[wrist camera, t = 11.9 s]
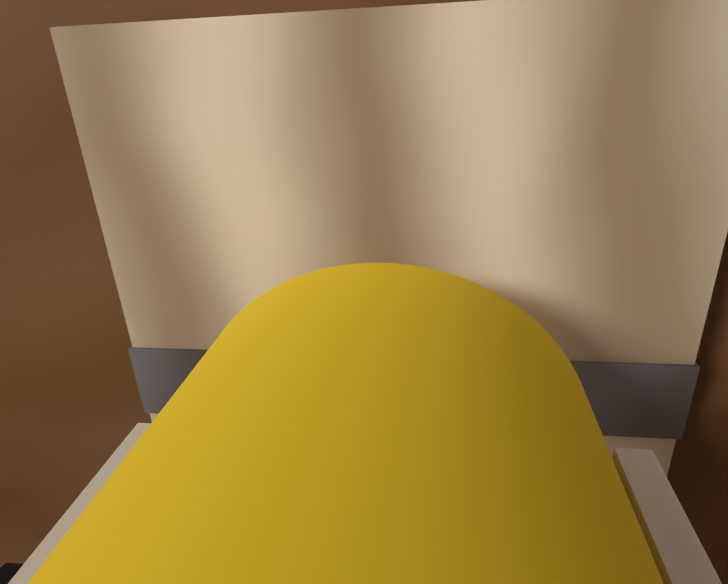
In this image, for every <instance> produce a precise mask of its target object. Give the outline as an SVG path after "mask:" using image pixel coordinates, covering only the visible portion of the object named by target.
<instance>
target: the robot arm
mask: <svg viewBox="0 0 728 584" xmlns="http://www.w3.org/2000/svg"><path fill="white" fill-rule="evenodd" d="M149 426H150V423H138V424H137V425H136V426H135V427H134V428H133V430H132V431H131V432H130V433H129V435H128V436H127V437H126V438H125V440H124V441H123V442H122V443H121V444H120V446H119V447H118V448H117V449H116V451H115V452H114V453H113V454H112V456H111V457H110V458H109V459H108V461H107V462H106V463H105V464H104V465H103V467H102V468H101V469H100V470H99V472H98V473H97V474H96V475H95V477H94V478H93V479H92V480H91V482H90V483H89V484H88V485H87V486H86V488H85V489H84V490H83V491H82V493H81V494H80V495H79V496H78V498H77V499H76V500H75V501H74V503H73V504H72V505H71V506H70V507H69V509H68V510H67V511H66V512H65V514H64V515H63V516H62V517H61V519H60V520H59V521H58V522H57V524H56V525H55V526H54V527H53V528H52V530H51V531H50V532H49V533H48V535H47V536H46V537H45V538H44V540H43V541H42V542H41V543H40V545H39V546H38V547H37V548H36V549H35V551H34V552H33V553H32V554H31V556H30V557H29V558H28V559H27V561H26V562H25V563H24V564H16V563H6V564H4V565H3V566H2V567H0V584H27V583H28V582H29V581H30V579H31V578H32V577H33V575H34V574H35V573H36V572H37V570H38V569H39V568H40V566H41V565H42V564H43V563H44V561H45V560H46V559H47V557H48V556H49V555H50V553H51V552H52V551H53V550H54V548H55V547H56V546H57V544H58V543H59V542H60V541H61V539H62V538H63V537H64V535H65V534H66V533H67V532H68V530H69V529H70V528H71V526H72V525H73V524H74V522H75V521H76V520H77V519H78V517H79V516H80V515H81V513H82V512H83V511H84V510H85V508H86V507H87V506H88V504H89V503H90V502H91V501H92V499H93V498H94V497H95V495H96V494H97V493H98V491H99V490H100V489H101V488H102V486H103V485H104V484H105V482H106V481H107V480H108V479H109V477H110V476H111V475H112V473H113V472H114V471H115V469H116V468H117V467H118V466H119V464H120V463H121V462H122V460H123V459H124V458H125V457H126V455H127V454H128V453H129V451H130V450H131V449H132V448H133V446H134V445H135V444H136V442H137V441H138V440H139V438H140V437H141V436H142V435H143V433H144V432H145V431H146V429H147V428H148V427H149ZM612 459H613V461H614V464H615V466H616V469H617V471H618V474H619V476H620V478H621V481H622V483H623V486H624V488H625V491H626V493H627V495H628V498H629V500H630V503H631V505H632V507H633V510H634V512H635V515H636V517H637V520H638V522H639V524H640V527H641V529H642V532H643V534H644V537H645V539H646V541H647V544H648V546H649V549H650V551H651V554H652V556H653V558H654V561H655V563H656V566H657V568H658V570H659V573H660V575H661V578H662V580H663V583H664V584H722V583H721V581H720V579H719V577H718V575H717V573H716V571H715V569H714V567H713V565H712V563H711V562H710V560H709V558H708V556H707V554H706V552H705V550H704V548H703V546H702V544H701V542H700V540H699V538H698V537H697V535H696V533H695V531H694V529H693V527H692V525H691V523H690V521H689V519H688V517H687V515H686V514H685V512H684V510H683V508H682V506H681V504H680V502H679V500H678V498H677V496H676V494H675V492H674V490H673V489H672V487H671V485H670V483H669V481H668V479H667V477H666V475H665V473H664V471H663V469H662V467H661V466H660V464H659V462H658V460H657V458H656V456H655V454H654V452H653V450H651V449H632V448H614V451H613V456H612Z"/></svg>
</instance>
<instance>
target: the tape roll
mask: <svg viewBox="0 0 728 584" xmlns="http://www.w3.org/2000/svg"><path fill="white" fill-rule="evenodd" d="M27 584H664V583H663V580H662V578H661V575H660V573H659V570H658V568H657V566H656V563H655V561H654V558H653V556H652V554H651V551H650V549H649V546H648V544H647V541H646V539H645V537H644V534H643V532H642V529H641V527H640V524H639V522H638V520H637V517H636V515H635V512H634V510H633V507H632V505H631V503H630V500H629V498H628V495H627V493H626V491H625V488H624V486H623V483H622V481H621V478H620V476H619V474H618V471H617V469H616V466H615V464H614V461H613V459H612V457H611V454H610V452H609V449H608V447H607V444H606V442H605V440H604V437H603V435H602V432H601V430H600V428H599V425H598V423H597V420H596V418H595V415H594V413H593V411H592V408H591V406H590V403H589V401H588V398H587V396H586V394H585V391H584V389H583V386H582V384H581V382H580V379H579V377H578V375H577V373H576V371H575V369H574V367H573V366H572V364H571V362H570V361H569V359H568V358H567V356H566V355H565V353H564V352H563V350H562V349H561V348H560V346H559V345H558V344H557V343H556V341H555V340H554V339H553V338H552V337H551V336H550V335H549V333H548V332H547V331H546V330H545V329H544V328H543V327H542V326H541V325H540V324H538V323H537V322H536V321H535V320H534V319H533V318H532V317H530V316H529V315H528V314H527V313H526V312H524V311H523V310H522V309H520V308H519V307H517V306H516V305H515V304H513V303H512V302H510V301H509V300H507V299H505V298H504V297H502V296H500V295H499V294H497V293H495V292H493V291H491V290H489V289H487V288H485V287H483V286H481V285H479V284H477V283H474V282H472V281H469V280H467V279H464V278H462V277H459V276H456V275H453V274H450V273H446V272H443V271H439V270H435V269H430V268H426V267H420V266H414V265H407V264H397V263H357V264H347V265H340V266H334V267H329V268H325V269H320V270H317V271H313V272H310V273H307V274H304V275H301V276H298V277H295V278H293V279H291V280H288V281H286V282H284V283H282V284H280V285H278V286H276V287H274V288H272V289H270V290H269V291H267V292H265V293H264V294H262V295H261V296H259V297H258V298H256V299H255V300H254V301H252V302H251V303H250V304H248V305H247V306H246V307H245V308H244V309H242V310H241V311H240V312H239V313H238V314H237V315H236V316H235V317H234V318H233V319H232V320H231V321H230V323H229V324H228V325H227V326H226V327H225V329H224V330H223V331H222V333H221V334H220V335H219V336H218V338H217V339H216V340H215V342H214V343H213V344H212V345H211V347H210V348H209V349H208V351H207V352H206V353H205V354H204V356H203V357H202V358H201V360H200V361H199V362H198V364H197V365H196V366H195V367H194V369H193V370H192V371H191V373H190V374H189V375H188V376H187V378H186V379H185V380H184V382H183V383H182V384H181V385H180V387H179V388H178V389H177V391H176V392H175V393H174V395H173V396H172V397H171V398H170V400H169V401H168V402H167V404H166V405H165V406H164V407H163V409H162V410H161V411H160V413H159V414H158V415H157V417H156V418H155V419H154V420H153V422H152V423H151V424H150V426H149V427H148V428H147V429H146V431H145V432H144V433H143V435H142V436H141V437H140V438H139V440H138V441H137V442H136V444H135V445H134V446H133V448H132V449H131V450H130V451H129V453H128V454H127V455H126V457H125V458H124V459H123V460H122V462H121V463H120V464H119V466H118V467H117V468H116V469H115V471H114V472H113V473H112V475H111V476H110V477H109V479H108V480H107V481H106V482H105V484H104V485H103V486H102V488H101V489H100V490H99V491H98V493H97V494H96V495H95V497H94V498H93V499H92V501H91V502H90V503H89V504H88V506H87V507H86V508H85V510H84V511H83V512H82V513H81V515H80V516H79V517H78V519H77V520H76V521H75V522H74V524H73V525H72V526H71V528H70V529H69V530H68V532H67V533H66V534H65V535H64V537H63V538H62V539H61V541H60V542H59V543H58V544H57V546H56V547H55V548H54V550H53V551H52V552H51V553H50V555H49V556H48V557H47V559H46V560H45V561H44V563H43V564H42V565H41V566H40V568H39V569H38V570H37V572H36V573H35V574H34V575H33V577H32V578H31V579H30V581H29V582H28V583H27Z"/></svg>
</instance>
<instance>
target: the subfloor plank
mask: <svg viewBox="0 0 728 584" xmlns="http://www.w3.org/2000/svg"><path fill="white" fill-rule="evenodd" d="M50 31H51V35H52V38H53V42H54V46H55V50H56V54H57V58H58V62H59V65H60V69H61V73H62V77H63V81H64V85H65V89H66V92H67V96H68V100H69V104H70V108H71V112H72V116H73V119H74V123H75V127H76V131H77V135H78V139H79V143H80V146H81V150H82V154H83V158H84V162H85V166H86V170H87V173H88V177H89V181H90V185H91V189H92V193H93V196H94V200H95V204H96V208H97V212H98V216H99V220H100V223H101V227H102V231H103V235H104V239H105V243H106V247H107V250H108V254H109V258H110V262H111V266H112V270H113V274H114V277H115V281H116V285H117V289H118V293H119V297H120V301H121V304H122V308H123V312H124V316H125V320H126V324H127V328H128V331H129V335H130V339H131V343H132V345H131V346H130V347H129V348H128V351H129V355H130V359H131V363H132V366H133V370H134V374H135V378H136V382H137V385H138V389H139V393H140V397H141V400H142V404H143V408H144V412H145V413H150V416H151V420H152V422H153V420H154V419H155V418H156V417H157V415H158V414H159V413H160V411H161V410H162V409H163V407H164V406H165V405H166V404H167V402H168V401H169V400H170V398H171V397H172V396H173V395H174V393H175V392H176V391H177V389H178V388H179V387H180V385H181V384H182V383H183V382H184V380H185V379H186V378H187V376H188V375H189V374H190V373H191V371H192V370H193V369H194V367H195V366H196V365H197V364H198V362H199V361H200V360H201V358H202V357H203V356H204V354H205V353H206V352H207V351H208V349H209V348H210V347H211V345H212V344H213V343H214V342H215V340H216V339H217V338H218V336H219V335H220V334H221V333H222V331H223V330H224V329H225V327H226V326H227V325H228V324H229V323H230V321H231V320H232V319H233V318H234V317H235V316H236V315H237V314H238V313H239V312H240V311H241V310H242V309H244V308H245V307H246V306H247V305H248V304H250V303H251V302H252V301H254V300H255V299H256V298H258V297H259V296H261V295H262V294H264V293H265V292H267V291H269V290H270V289H272V288H274V287H276V286H278V285H280V284H282V283H284V282H286V281H288V280H291V279H293V278H295V277H298V276H301V275H304V274H307V273H310V272H313V271H317V270H320V269H325V268H329V267H334V266H340V265H347V264H357V263H397V264H407V265H414V266H420V267H426V268H430V269H435V270H439V271H443V272H446V273H450V274H453V275H456V276H459V277H462V278H464V279H467V280H469V281H472V282H474V283H477V284H479V285H481V286H483V287H485V288H487V289H489V290H491V291H493V292H495V293H497V294H499V295H500V296H502V297H504V298H505V299H507V300H509V301H510V302H512V303H513V304H515V305H516V306H517V307H519V308H520V309H522V310H523V311H524V312H526V313H527V314H528V315H529V316H530V317H532V318H533V319H534V320H535V321H536V322H537V323H538V324H540V325H541V326H542V327H543V328H544V329H545V330H546V331H547V332H548V333H549V335H550V336H551V337H552V338H553V339H554V340H555V341H556V343H557V344H558V345H559V346H560V348H561V349H562V350H563V352H564V353H565V355H566V356H567V358H568V359H569V361H570V362H571V364H572V366H573V367H574V369H575V371H576V373H577V375H578V377H579V379H580V382H581V384H582V386H583V389H584V391H585V394H586V396H587V398H588V401H589V403H590V406H591V408H592V411H593V413H594V415H595V418H596V420H597V423H598V425H599V428H600V430H601V432H602V435H603V437H604V440H605V442H606V444H607V447H608V449H609V452H610V454H611V457H612V456H613V451H614V448H632V449H651V450H653V452H654V454H655V456H656V458H657V460H658V462H659V464H660V466H661V467H662V469H663V471H664V473H665V475H666V477H667V474H668V470H669V466H670V462H671V458H672V454H673V450H674V446H675V442H676V439H681V440H682V437H683V433H684V429H685V426H686V422H687V418H688V414H689V410H690V406H691V402H692V398H693V394H694V390H695V386H696V382H697V378H698V374H699V370H700V366H699V365H698V363H697V362H696V357H697V353H698V349H699V345H700V341H701V337H702V333H703V329H704V325H705V321H706V316H707V312H708V308H709V304H710V300H711V296H712V292H713V288H714V284H715V280H716V276H717V272H718V268H719V264H720V260H721V256H722V252H723V248H724V244H725V240H726V235H727V231H728V0H485V1H469V2H453V3H437V4H420V5H404V6H388V7H372V8H356V9H339V10H323V11H307V12H291V13H274V14H258V15H242V16H226V17H209V18H193V19H177V20H161V21H145V22H128V23H112V24H96V25H80V26H63V27H50Z"/></svg>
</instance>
